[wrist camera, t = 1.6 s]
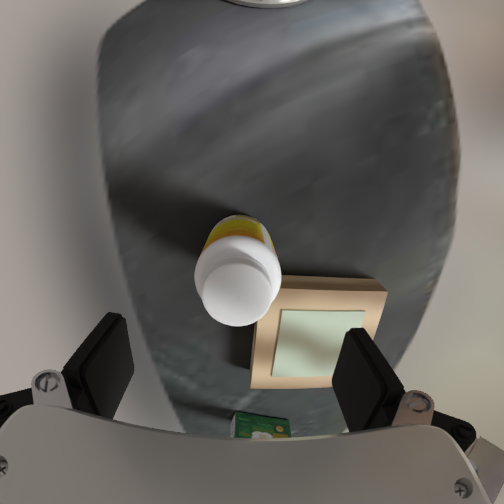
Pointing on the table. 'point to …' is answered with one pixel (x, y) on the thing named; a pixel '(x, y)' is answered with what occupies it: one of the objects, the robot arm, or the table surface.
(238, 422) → the coffee box
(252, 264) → the supplement bottle
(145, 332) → the table surface
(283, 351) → the base
